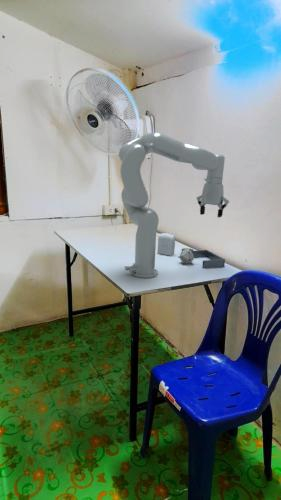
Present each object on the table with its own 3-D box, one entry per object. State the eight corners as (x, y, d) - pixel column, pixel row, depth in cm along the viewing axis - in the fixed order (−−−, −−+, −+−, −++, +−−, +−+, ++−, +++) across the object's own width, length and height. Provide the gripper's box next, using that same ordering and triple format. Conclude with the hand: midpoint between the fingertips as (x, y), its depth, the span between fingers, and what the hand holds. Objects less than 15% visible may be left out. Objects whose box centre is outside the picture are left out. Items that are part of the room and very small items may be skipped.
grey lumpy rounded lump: (182, 270, 175) (171, 254, 174) (191, 262, 179) (181, 247, 178) (192, 266, 167) (181, 250, 166) (201, 258, 172) (191, 242, 171)
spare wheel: (184, 255, 188) (184, 251, 187) (179, 252, 194) (179, 248, 194) (195, 255, 190) (195, 250, 189) (190, 251, 196) (190, 247, 196)
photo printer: (175, 254, 189) (176, 234, 186) (172, 256, 186) (173, 235, 182) (159, 251, 194) (160, 231, 191) (156, 253, 191) (157, 233, 187)
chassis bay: (203, 268, 167) (203, 261, 166) (186, 257, 184) (187, 251, 183) (225, 266, 171) (226, 259, 170) (207, 256, 188) (208, 249, 187)
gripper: (195, 179, 161) (192, 214, 166) (227, 182, 151) (223, 219, 155) (202, 179, 167) (199, 212, 171) (234, 182, 156) (230, 217, 161)
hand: (210, 215), depth 163 cm, fingers open, 9 cm apart
